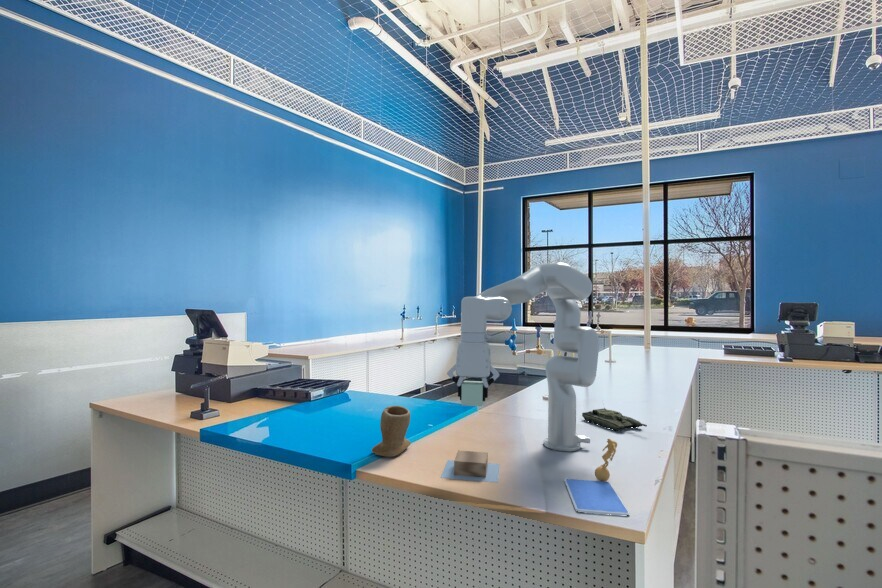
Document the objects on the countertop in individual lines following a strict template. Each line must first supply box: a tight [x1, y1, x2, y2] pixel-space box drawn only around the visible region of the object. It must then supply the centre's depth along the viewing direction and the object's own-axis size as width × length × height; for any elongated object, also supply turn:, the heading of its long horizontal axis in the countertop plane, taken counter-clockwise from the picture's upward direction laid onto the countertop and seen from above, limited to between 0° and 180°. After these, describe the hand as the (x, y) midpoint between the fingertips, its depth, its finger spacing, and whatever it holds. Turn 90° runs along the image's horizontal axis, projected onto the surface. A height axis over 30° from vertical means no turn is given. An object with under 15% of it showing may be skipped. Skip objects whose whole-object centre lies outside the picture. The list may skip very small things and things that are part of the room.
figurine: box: [594, 438, 618, 482], centre depth 122 cm, size 8×6×12 cm
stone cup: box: [371, 405, 412, 458], centre depth 144 cm, size 15×12×15 cm
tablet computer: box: [564, 478, 631, 516], centre depth 112 cm, size 19×13×1 cm, turn 172°
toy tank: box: [581, 400, 647, 432], centre depth 177 cm, size 14×28×10 cm, turn 24°
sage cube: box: [460, 380, 485, 407], centre depth 127 cm, size 6×6×6 cm
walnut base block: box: [453, 449, 489, 478], centre depth 126 cm, size 9×9×4 cm
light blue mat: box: [440, 459, 500, 484], centre depth 126 cm, size 16×14×1 cm
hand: (472, 399), depth 127 cm, fingers closed on sage cube, 6 cm apart
